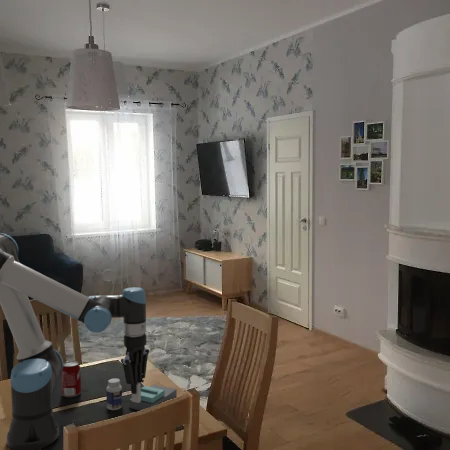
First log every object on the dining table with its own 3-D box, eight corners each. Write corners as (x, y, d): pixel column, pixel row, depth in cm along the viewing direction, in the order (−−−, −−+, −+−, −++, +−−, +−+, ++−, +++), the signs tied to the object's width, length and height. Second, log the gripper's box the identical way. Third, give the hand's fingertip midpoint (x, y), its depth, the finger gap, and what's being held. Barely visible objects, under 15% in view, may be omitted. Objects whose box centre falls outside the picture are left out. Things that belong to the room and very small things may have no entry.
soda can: (75, 399, 187) (74, 367, 186) (58, 397, 188) (57, 365, 187) (84, 391, 193) (83, 360, 192) (67, 390, 195) (67, 359, 194)
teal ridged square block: (152, 403, 176) (152, 395, 176) (132, 398, 180) (132, 391, 180) (164, 395, 183) (164, 387, 182) (145, 390, 187) (145, 383, 186)
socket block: (153, 413, 175) (152, 405, 175) (129, 407, 180) (129, 399, 180) (176, 397, 189) (176, 389, 188) (154, 392, 193) (154, 384, 193)
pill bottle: (114, 412, 177) (114, 384, 176) (103, 408, 180) (102, 381, 179) (125, 406, 181) (125, 379, 180) (114, 402, 184) (113, 376, 183)
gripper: (132, 340, 165) (133, 411, 167) (155, 330, 176) (156, 396, 179) (113, 337, 168) (115, 406, 171) (137, 327, 180) (139, 392, 182)
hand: (136, 401), depth 175 cm, fingers closed
